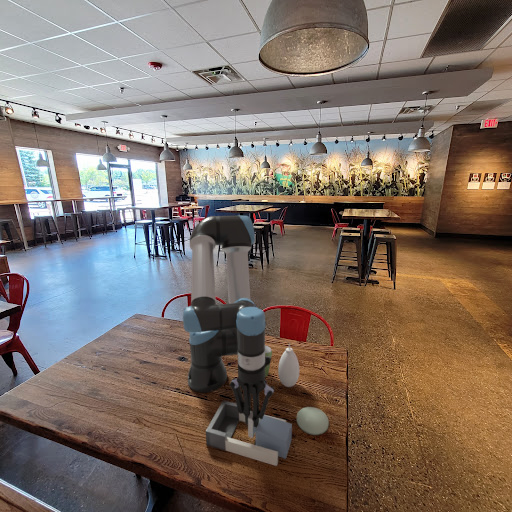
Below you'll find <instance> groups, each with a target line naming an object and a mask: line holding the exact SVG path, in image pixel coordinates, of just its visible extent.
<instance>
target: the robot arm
mask: <svg viewBox="0 0 512 512" xmlns="http://www.w3.org/2000/svg"><path fill="white" fill-rule="evenodd" d="M255 239H256V238H255V229H254V225H253V221H252V218H250V216H248V215H240V214H238V215H237V214H236V215H217V216H216V215H210V216H207V217H205V218H203V219H202V220H200V222H198V223H197V224H196V226H195V227H194V228H193V229H192V232H191V235H190V237H189V248H190V250H191V255H192V256H191V290H190V293H191V294H190V297H191V298H190V299H191V300H190V305H189V306H185V307H184V308H183V313H182V314H183V315H182V321H183V330H184V331H185V332H186V333H189V339H188V341H189V342H188V343H189V348H190V350H189V351H190V362H191V363H190V365H189V366H190V367H189V369H188V373H187V384H188V387H189V388H190V389H191V390H193V391H194V392H197V393H211V392H214V391H217V390H218V389H220V388H222V387H223V386H224V385H225V384H226V383H227V379H228V372H227V368H226V366H225V364H224V361H223V359H222V357H226V356H236V355H237V378H236V377H233V378H232V379H231V381H230V383H229V387H230V389H231V390H232V393H233V397H234V401H235V403H236V404H237V408H238V411H239V413H240V414H242V413H243V414H244V415H245V422H244V424H245V425H246V426H247V435H248V437H249V438H251V439H253V438H254V436H255V431H256V428H257V426H258V424H259V418H260V419H263V416H264V415H266V411H267V407H268V405H269V401H270V398H271V397H272V396H273V394H274V392H275V386H273V385H271V386H269V385H268V384H267V380H266V377H265V345H266V326H267V325H266V324H267V323H266V314H265V312H264V310H263V309H261V308H259V307H257V306H256V304H255V303H254V301H253V300H252V299H251V286H250V269H249V267H250V266H249V254H248V253H249V252H250V251H251V249H252V245H254V244H255V241H256V240H255ZM216 246H221V250H222V251H223V252H224V253H225V255H226V271H227V272H226V273H227V293H228V295H227V296H228V303H224V304H222V303H221V304H216V303H217V302H216V301H217V300H216V281H215V264H214V263H215V260H214V259H215V258H214V250H215V249H216ZM242 391H243V392H242ZM263 391H264V397H263V401H262V405H261V408H260V393H261V392H263Z"/></svg>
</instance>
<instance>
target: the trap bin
mask: <svg viewBox="0 0 512 512" xmlns="http://www.w3.org/2000/svg"><path fill="white" fill-rule="evenodd" d="M239 422H240V421H239V411H238V408H237V404H236V402H231V401H227V400H224V399H223V400H222V402H221V404H220V405H219V406H218V409H217V411H216V412H215V414H214V415H213V417H212V420H211V421H210V422H209V425H208V426H207V428H206V430H205V442H206V446H208V447H211V448H213V449H218V450H221V451H226V448H225V440H226V438H227V437H229V438H232V437H233V436H234V433H235V430H236V428H237V426H238V424H239ZM232 439H233V438H232ZM226 452H227V451H226Z"/></svg>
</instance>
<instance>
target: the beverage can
mask: <svg viewBox="0 0 512 512" xmlns="http://www.w3.org/2000/svg"><path fill="white" fill-rule="evenodd" d="M272 355H273V351H272V348H271V347H270V346H268V345H266V344H265V378H266V377H268V376H269V371H270V366H271V362H272V357H273V356H272Z"/></svg>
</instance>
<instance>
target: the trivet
mask: <svg viewBox="0 0 512 512" xmlns="http://www.w3.org/2000/svg"><path fill="white" fill-rule="evenodd" d="M329 421H330V420H329V417H328V416H327V414H326V413H325V412H324V411H323V410H321V409H320V408H317V407H313V406H306V407H303V408H301V409H300V410H299V411H298V412H297V414H296V423H297V426H298V427H299V429H301V430H302V432H304V433H306V434H309V435H311V436H320V435H322V434H324V433H326V432H327V431H328V429H329V423H330V422H329Z"/></svg>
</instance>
